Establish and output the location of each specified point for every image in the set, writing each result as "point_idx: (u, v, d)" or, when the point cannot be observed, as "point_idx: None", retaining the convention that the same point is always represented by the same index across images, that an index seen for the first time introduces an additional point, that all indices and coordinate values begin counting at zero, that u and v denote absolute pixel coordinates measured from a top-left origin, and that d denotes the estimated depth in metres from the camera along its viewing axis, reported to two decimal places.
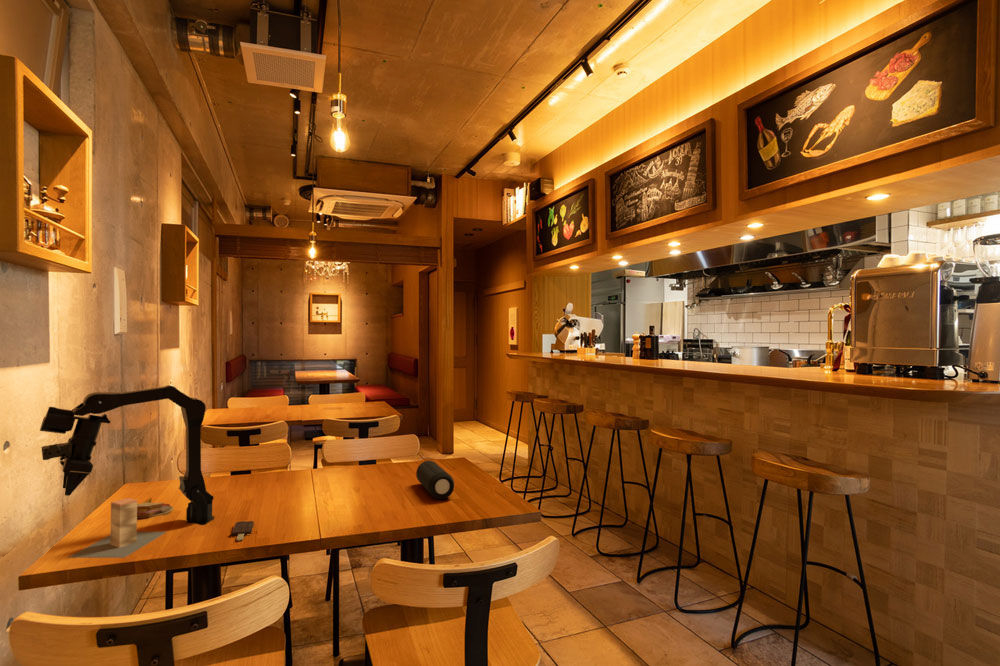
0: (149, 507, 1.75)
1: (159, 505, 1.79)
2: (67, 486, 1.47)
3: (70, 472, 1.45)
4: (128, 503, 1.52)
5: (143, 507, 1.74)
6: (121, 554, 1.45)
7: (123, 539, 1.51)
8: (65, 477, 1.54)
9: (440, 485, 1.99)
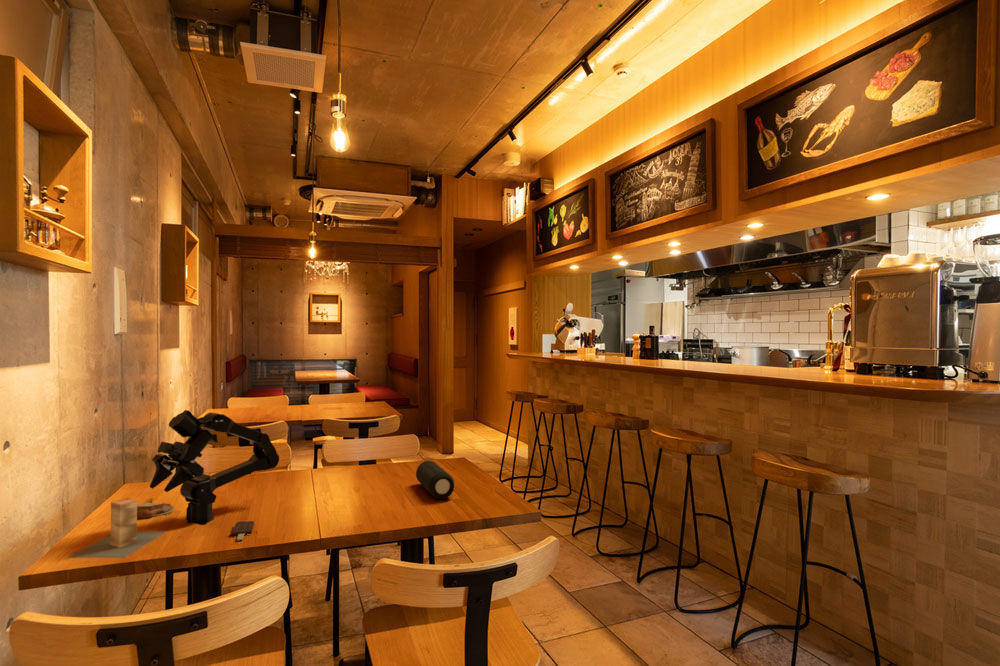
0: (151, 507, 1.75)
1: (161, 505, 1.79)
2: (171, 482, 1.61)
3: (185, 470, 1.62)
4: (128, 503, 1.52)
5: (145, 507, 1.74)
6: (121, 554, 1.45)
7: (123, 539, 1.51)
8: (156, 477, 1.65)
9: (440, 485, 1.99)
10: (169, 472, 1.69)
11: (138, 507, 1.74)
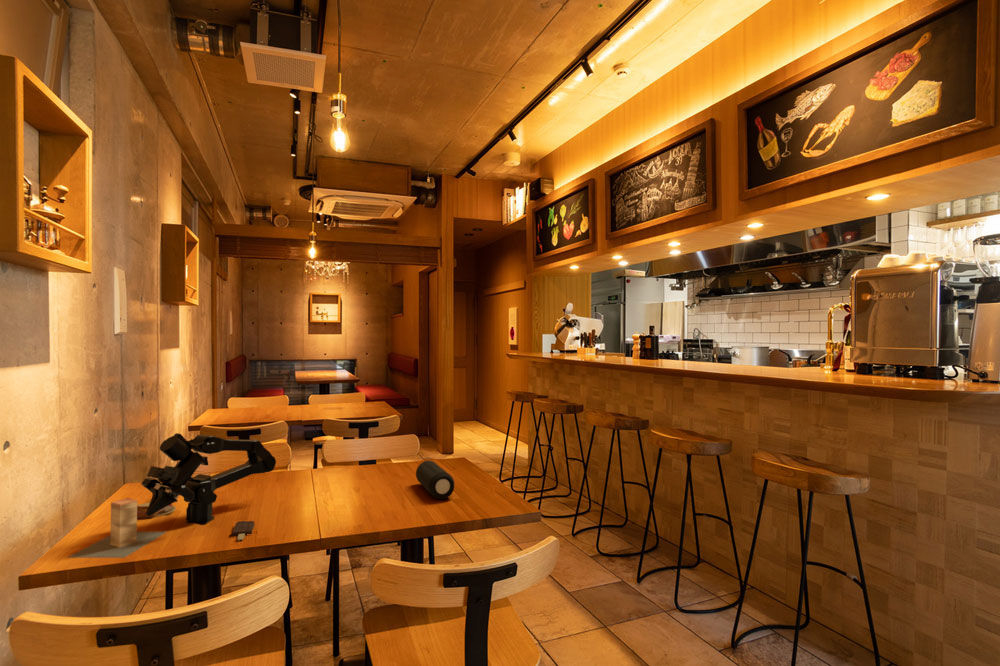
0: None
1: None
2: (154, 506, 1.59)
3: (168, 494, 1.61)
4: (128, 503, 1.52)
5: (147, 507, 1.74)
6: (121, 554, 1.45)
7: (123, 539, 1.51)
8: (152, 504, 1.60)
9: (440, 485, 1.99)
10: None
11: (140, 507, 1.74)
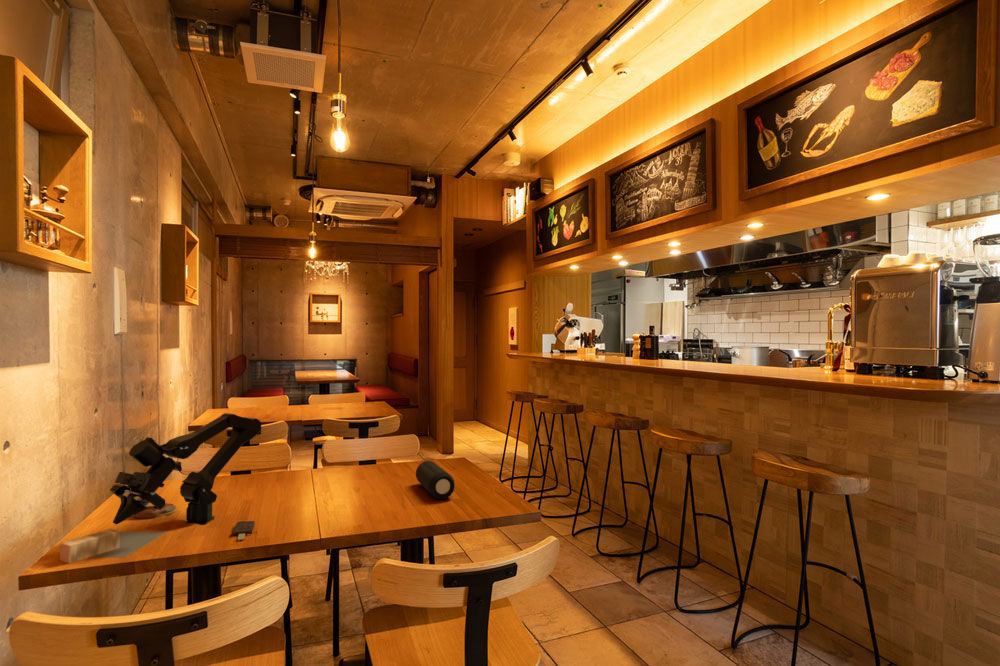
0: None
1: None
2: (122, 514, 1.51)
3: (137, 501, 1.53)
4: (70, 554, 1.39)
5: (149, 507, 1.74)
6: (121, 554, 1.45)
7: (112, 546, 1.48)
8: None
9: (440, 485, 1.99)
10: None
11: None
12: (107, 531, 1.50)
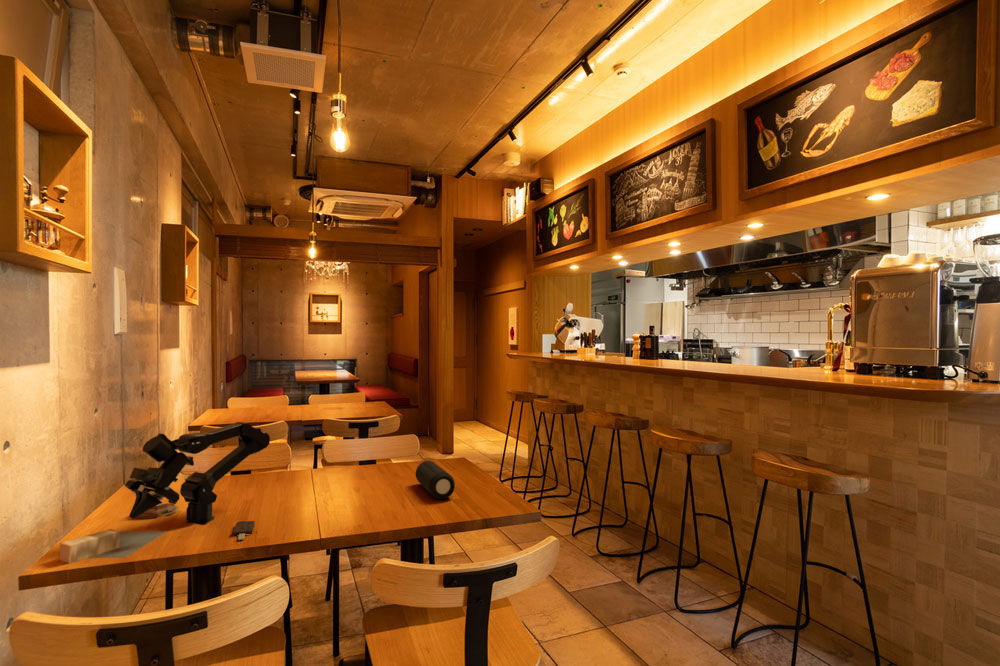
0: (157, 507, 1.75)
1: (165, 505, 1.79)
2: (137, 508, 1.55)
3: (151, 496, 1.56)
4: (70, 554, 1.39)
5: None
6: (121, 554, 1.45)
7: (112, 546, 1.48)
8: None
9: (441, 485, 1.99)
10: None
11: None
12: (107, 531, 1.50)
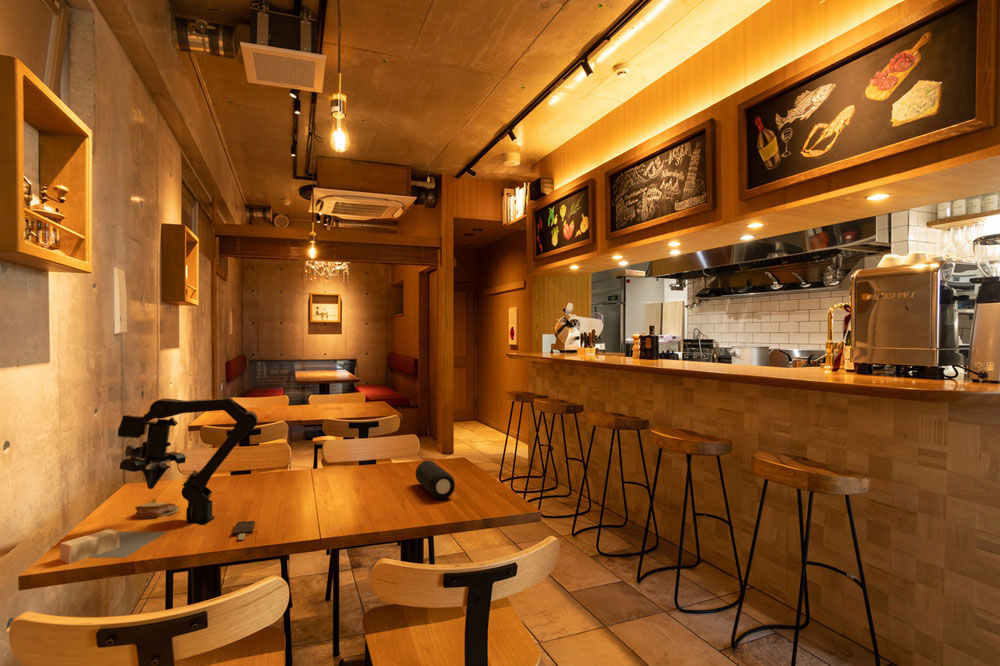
0: (158, 507, 1.75)
1: (166, 505, 1.80)
2: (146, 480, 1.68)
3: None
4: (70, 554, 1.39)
5: (152, 507, 1.74)
6: (121, 554, 1.45)
7: (112, 546, 1.48)
8: None
9: (441, 485, 1.99)
10: (159, 468, 1.69)
11: (145, 507, 1.74)
12: (107, 531, 1.50)
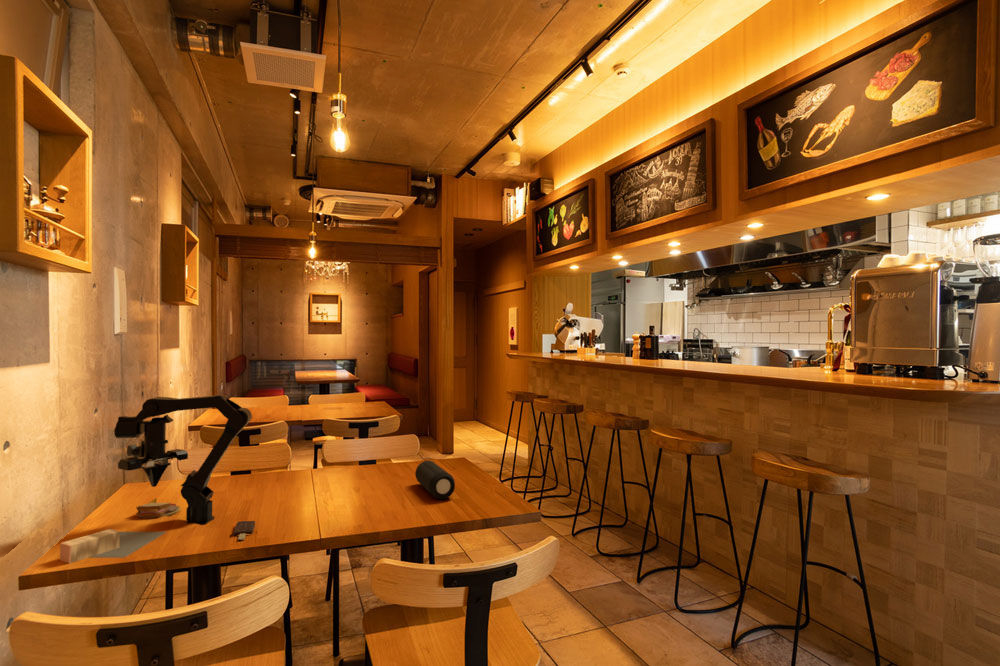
0: (159, 507, 1.75)
1: (168, 505, 1.80)
2: (149, 478, 1.70)
3: None
4: (70, 554, 1.39)
5: (153, 507, 1.74)
6: (121, 554, 1.45)
7: (112, 546, 1.48)
8: None
9: (441, 485, 1.99)
10: (160, 466, 1.70)
11: (146, 507, 1.74)
12: (107, 531, 1.50)
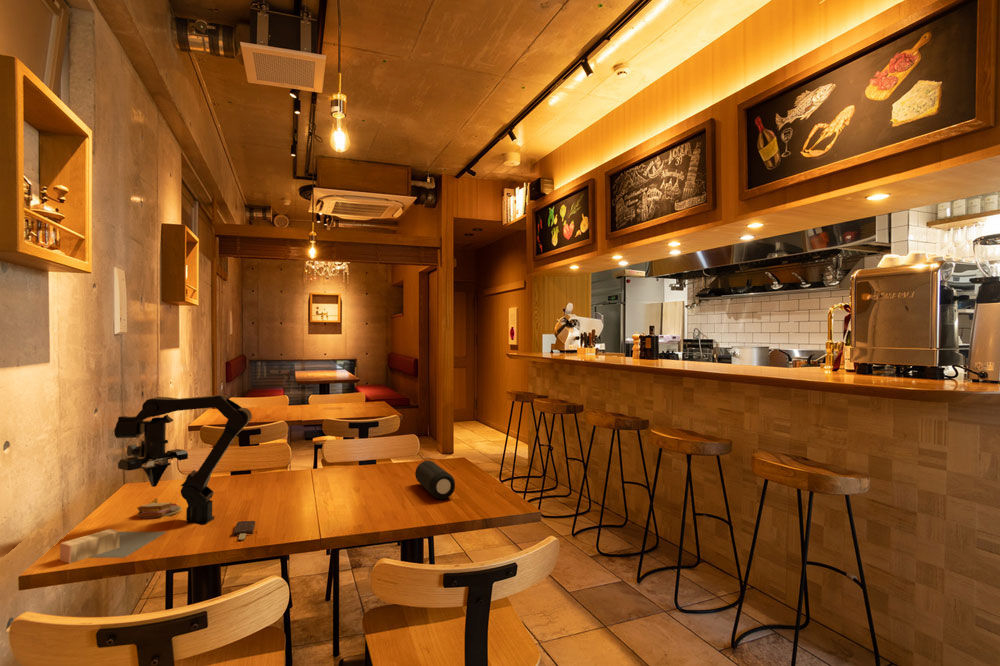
0: (161, 507, 1.75)
1: (169, 505, 1.80)
2: (149, 478, 1.70)
3: None
4: (70, 554, 1.39)
5: (155, 507, 1.74)
6: (121, 554, 1.45)
7: (112, 546, 1.48)
8: None
9: (441, 485, 1.99)
10: (160, 466, 1.70)
11: (148, 507, 1.74)
12: (107, 531, 1.50)
